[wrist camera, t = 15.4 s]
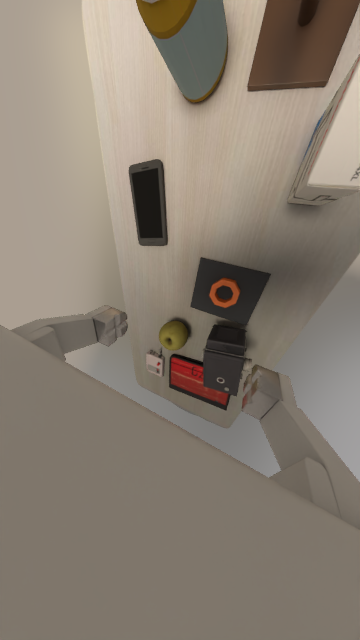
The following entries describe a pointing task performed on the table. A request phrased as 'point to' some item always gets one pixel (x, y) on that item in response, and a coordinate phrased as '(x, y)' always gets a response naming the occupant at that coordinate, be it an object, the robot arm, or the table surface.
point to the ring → (222, 302)
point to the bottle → (189, 41)
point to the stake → (300, 42)
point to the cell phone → (149, 202)
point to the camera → (225, 359)
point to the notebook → (194, 381)
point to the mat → (228, 290)
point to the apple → (173, 335)
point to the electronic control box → (155, 363)
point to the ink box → (333, 149)
